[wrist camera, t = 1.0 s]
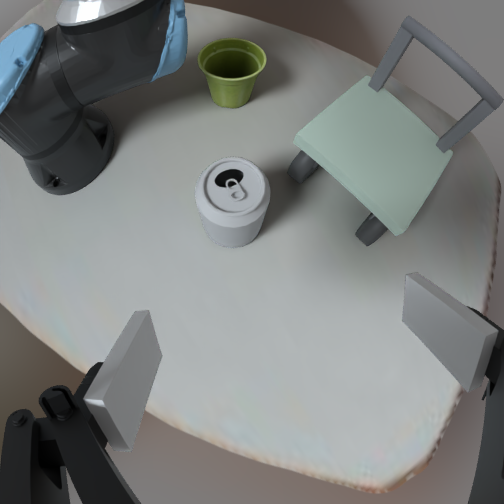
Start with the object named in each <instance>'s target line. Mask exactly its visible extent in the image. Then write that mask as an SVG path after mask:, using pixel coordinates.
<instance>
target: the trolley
mask: <svg viewBox="0 0 504 504" xmlns="http://www.w3.org/2000/svg"><path fill="white" fill-rule="evenodd" d="M413 38H416V39H417V40H418V41H420V42H421V43H422V44H423V45H425V46H426V47H427V48H428V49H430V50H431V51H432V52H433V53H435V54H436V55H437V56H438V57H440V58H441V59H442V60H443V61H444V62H445V63H446V64H448V65H449V66H450V67H451V68H452V69H453V70H454V71H455V72H457V74H459V75H460V76H461V77H462V78H463V79H464V80H465V81H466V82H467V83H468V84H469V85H470V86H471V87H472V88H473V89H474V90H475V91H476V92H477V93H478V94H479V95H480V96H481V97H482V99H481V100H480V101H479V102H478V103H477V104H476V105H475V106H474V107H473V108H472V109H471V110H470V111H469V112H468V113H467V114H466V115H465V116H463V118H461V119H460V120H459V121H458V122H457V123H456V124H455V125H454V126H453V127H452V128H451V129H449V130H448V131H447V132H446V133H445V134H444V135H443V136H442V137H441V138H439V137H438V136H437V135H436V134H435V133H434V132H433V131H432V130H431V129H430V128H429V127H428V126H427V125H426V124H425V123H424V122H422V121H421V120H420V119H419V118H418V117H417V116H416V115H415V114H414V113H413V112H412V111H410V110H409V109H408V108H407V107H406V106H405V105H404V104H402V103H401V102H400V101H399V100H398V99H397V98H395V97H394V96H393V95H392V94H391V93H389V92H388V91H387V90H386V89H384V88H383V86H384V84H385V83H386V81H387V79H388V78H389V76H390V75H391V73H392V71H393V70H394V68H395V67H396V65H397V64H398V62H399V60H400V59H401V57H402V56H403V54H404V52H405V51H406V49H407V47H408V46H409V44H410V43H411V41H412V39H413ZM503 100H504V99H503V98H502V97H501V96H500V95H499V94H498V93H497V91H496V90H495V89H494V88H493V87H492V86H491V85H490V84H489V83H488V82H487V81H486V80H485V79H484V78H483V77H482V76H481V75H480V74H479V73H478V72H477V71H476V70H475V69H474V68H473V67H472V66H471V65H470V64H469V63H467V62H466V61H465V60H464V59H463V58H462V57H461V56H460V55H459V54H457V53H456V52H455V51H454V50H453V49H452V48H451V47H449V46H448V45H447V44H446V43H445V42H443V41H442V40H441V39H440V38H439V37H437V36H436V35H435V34H433V33H432V32H431V31H430V30H428V29H427V28H426V27H424V26H423V25H422V24H420V23H419V22H417V21H416V20H415V19H413V18H412V17H410V16H408V17H406V19H405V20H404V21H403V23H402V25H401V27H400V29H399V31H398V32H397V34H396V36H395V38H394V40H393V41H392V43H391V45H390V47H389V49H388V50H387V52H386V54H385V56H384V57H383V59H382V61H381V63H380V64H379V66H378V68H377V70H376V71H375V73H374V75H373V77H372V78H370V77H369V76H368V75H366V76H365V77H363V78H362V79H361V80H360V81H358V82H357V83H356V84H355V85H354V86H352V87H351V88H350V89H349V90H347V91H346V92H345V93H344V94H343V95H341V96H340V97H339V98H338V99H337V100H335V101H334V102H333V103H332V104H331V105H329V106H328V107H327V108H326V109H325V110H323V111H322V112H321V113H320V114H319V115H318V116H316V117H315V118H314V119H313V120H312V121H311V122H309V123H308V124H307V125H306V126H305V127H304V128H302V129H301V130H300V131H299V132H298V133H297V134H296V137H295V139H294V142H293V143H294V144H295V145H297V146H298V147H299V148H300V149H301V151H300V153H299V154H298V155H297V156H296V158H295V159H294V160H293V162H292V163H291V165H290V167H289V169H288V171H287V173H288V174H289V175H290V176H291V177H292V178H293V179H295V180H296V181H297V182H298V183H302V182H303V181H304V180H305V179H306V178H308V177H309V176H310V175H311V174H312V173H313V171H314V170H315V169H316V168H317V167H318V166H319V165H320V166H322V167H323V168H324V169H325V170H326V171H327V172H328V173H330V174H331V175H332V176H333V177H334V178H335V179H336V180H337V181H339V182H340V183H341V184H342V185H343V186H344V187H345V188H346V189H347V190H349V191H350V192H351V193H352V194H353V195H354V196H355V197H356V198H357V199H358V200H359V201H360V202H361V203H362V204H363V205H365V206H366V207H367V208H368V209H369V210H370V211H371V212H372V213H371V214H370V215H369V216H368V217H367V219H366V220H365V221H364V222H363V223H362V225H361V226H360V227H359V229H358V230H357V232H356V234H355V235H356V236H357V237H358V238H359V239H360V240H361V241H362V242H363V243H364V244H365V245H366V246H369V245H370V244H372V243H373V242H375V241H376V240H377V239H378V238H379V237H380V236H381V235H383V233H384V232H385V231H386V230H387V229H389V230H390V231H391V232H392V233H393V234H394V235H395V236H398V235H400V234H402V233H404V232H405V230H406V229H407V227H408V226H409V224H410V223H411V222H412V220H413V218H414V217H415V215H416V214H417V212H418V211H419V209H420V208H421V206H422V205H423V203H424V202H425V200H426V198H427V197H428V195H429V194H430V192H431V190H432V189H433V187H434V186H435V184H436V182H437V181H438V179H439V177H440V176H441V174H442V172H443V170H444V169H445V167H446V165H447V164H448V162H449V160H450V158H451V157H452V155H453V152H452V151H451V149H450V148H451V147H452V146H453V145H454V144H456V143H457V142H458V141H459V140H460V139H461V138H463V137H464V136H465V135H466V134H467V133H469V132H470V131H471V130H472V129H473V128H474V127H476V126H477V125H478V124H479V123H480V122H481V121H482V120H484V119H485V118H486V117H487V116H488V115H489V114H491V113H492V112H493V111H494V110H496V109H497V108H498V107H499V106H500V105H501V103H502V102H503Z"/></svg>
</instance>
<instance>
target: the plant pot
mask: <svg viewBox="0 0 504 504" xmlns="http://www.w3.org/2000/svg"><path fill="white" fill-rule="evenodd" d="M266 61H267V59H266V55H265V53H264V51H263V50H262V49H261V48H260V47H259V46H258V45H256V44H255V43H253V42H251V41H248V40H244V39H239V38H224V39H219V40H215V41H213V42H211V43H209V44H207V45H206V46H205V47H203V48H202V49H201V51H200V52H199V54H198V58H197V62H198V66H199V68H200V69H201V70H202V71H203V73H204V74H205V76H206V79H207V82H208V86H209V89H210V93H211V97H212V99H213V101H214V102H215V103H216V104H217V105H219V106H221V107H229V108H238V107H240V106H243V105H244V104H245V103H247V101H248V100H249V98H250V95H251V92H252V89H253V86H254V84H255V81H256V78H257V76H258V75H259V73H260V72H261V71H262V70H263V69H264V67H265V65H266Z"/></svg>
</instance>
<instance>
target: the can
mask: <svg viewBox="0 0 504 504" xmlns="http://www.w3.org/2000/svg"><path fill="white" fill-rule="evenodd" d="M270 191H271V190H270V186H269V182H268V179H267V177H266V176H265V174H264V173H263V171H262V170H261V169H260V168H258V167H257V166H256V165H255V164H254V163H252V162H251V161H249V160H246V159H244V158H241V157H226V158H221V159H219V160H217V161H215V162H213V163H212V164H211V165H209V166H208V167H207V168H206V169H205V170H204V171H203V172H202V173H201V175H200V177H199V179H198V180H197V182H196V188H195V198H196V204H197V207H198V210H199V213H200V217H201V220H202V223H203V226H204V229H205V231H206V233H207V235H208V236H209V238H210V239H212V240H213V241H214V242H215V243H216V244H218V245H221V246H223V247H228V248H237V247H242V246H244V245H246V244H248V243H250V242H251V241H252V240H253V239H254V238H255V237H256V236H257V235H258V232H259V230H260V228H261V225H262V222H263V219H264V216H265V213H266V210H267V207H268V204H269V201H270Z"/></svg>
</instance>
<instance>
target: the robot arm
mask: <svg viewBox="0 0 504 504" xmlns="http://www.w3.org/2000/svg"><path fill="white" fill-rule="evenodd" d="M56 20H57V23H58V25H56V26H54V27H52V28H50V29H49V30H47V31H44V29H43V27H41V26H39V25H38V24H35V23H32V24H30V25H25V26H23V27H21V28H19V29H17V30H16V31H14V32H13V33H11V34H10V35H9V36H8V37H6V38H5V39H4V40H3V41H2V42H1V43H0V138H1V139H2V140H3V141H4V142H6V143H7V144H8V145H9V146H10V147H11V148H13V149H14V150H15V151H16V152H17V153H19V154H20V155H21V156H22V157H23V159H24V161H25V163H26V166H27V168H28V170H29V172H30V174H31V176H32V178H33V180H34V181H35V183H36V184H37V185H38V186H40V187H41V188H42V189H44V190H45V191H47V192H48V193H51V194H55V195H65V194H69V193H73V192H75V191H77V190H79V189H81V188H83V187H84V186H86V185H87V184H89V183H90V182H91V181H92V180H93V179H94V178H95V177H96V176H97V175H98V174H99V173H100V172H101V170H102V169H103V168H104V166H105V165H106V163H107V161H108V159H109V157H110V155H111V152H112V149H113V144H114V131H113V128H112V125H111V124H110V122H109V120H108V118H107V117H106V115H105V114H104V113H103V112H102V111H101V110H99V109H98V108H96V107H95V106H93V105H91V104H93V103H95V102H97V101H100V100H102V99H104V98H107V97H109V96H112V95H114V94H117V93H119V92H122V91H125V90H127V89H130V88H133V87H136V86H138V85H141V84H144V83H151V82H152V81H155V80H156V79H157V78H160V77H162V76H165V75H168V74H171V73H173V72H175V71H176V70H178V69H179V68H180V67H181V66H182V65H183V63H184V61H185V58H186V53H187V41H188V32H187V19H186V17H185V4H184V0H63V2H62V4H61V6H60V7H59V9H58V11H57V14H56ZM402 321H403V322H404V323H405V324H406V325H407V326H408V328H409V329H410V330H411V331H412V332H413V333H414V334H415V335H416V336H417V337H418V338H419V339H420V340H421V341H422V342H423V343H424V344H425V346H426V347H427V348H428V349H429V350H430V351H431V352H432V353H433V354H434V355H435V356H436V357H437V359H438V360H439V361H440V362H441V363H442V364H443V365H444V366H445V367H446V368H447V370H448V371H449V372H450V373H451V374H452V375H453V376H454V377H455V379H456V380H457V381H458V382H459V383H460V384H461V385H462V386H463V388H464V389H465V390H466V391H467V392H470V391H472V390H474V389H477V388H478V387H480V386H481V384H482V382H483V379H484V376H485V375H486V376H487V377H488V378H489V382H488V385H487V387H486V390H485V392H484V395H483V397H482V400H484V398H485V397H486V407H485V417H484V426H483V434H482V441H481V447H480V453H479V458H478V463H477V468H476V473H475V478H474V482H473V486H472V490H471V494H470V497H469V501H468V504H504V330H503V329H501V328H500V327H499V326H498V325H496V324H495V323H494V322H492V321H491V320H489V319H488V318H487V317H485V316H483V314H481V313H480V312H479V311H477V310H476V309H473V308H470V307H468V306H465V305H464V304H462V303H461V302H459V301H458V300H457V299H455V298H454V297H452V296H451V295H450V294H448V293H447V292H445V291H444V290H442V289H441V288H440V287H438V286H437V285H435V284H434V283H432V282H431V281H429V280H428V279H427V278H425V277H424V276H422V275H421V274H419V273H418V272H417V273H412V274H406V279H405V293H404V305H403V315H402ZM161 358H162V353H161V350H160V347H159V344H158V340H157V337H156V333H155V330H154V327H153V323H152V319H151V316H150V312H149V310H145V311H135V312H134V314H133V315H132V317H131V318H130V320H129V322H128V323H127V325H126V326H125V328H124V330H123V331H122V333H121V335H120V336H119V338H118V340H117V341H116V343H115V344H114V346H113V348H112V349H111V351H110V353H109V355H108V356H107V358H106V360H105V361H104V362H98V363H96V364H95V365H94V366H93V367H92V368H90V369H89V371H88V373H87V374H86V376H85V378H84V379H83V381H82V382H81V383H82V384H80V386H79V387H78V389H77V391H76V393H75V394H74V396H73V395H72V393H71V391H70V390H69V388H68V387H66V386H63V385H59V386H58V385H57V386H53V387H50V388H49V389H47V390H45V391H44V392H43V393H42V394H41V396H40V398H39V404H40V406H41V407H42V409H43V411H44V412H45V414H46V416H47V417H46V418H37V419H36V418H35V417H34V415H33V414H32V413H31V411H29V410H27V409H21V410H18V411H15V412H13V413H12V414H11V415H10V416H9V417H8V419H7V422H6V427H5V433H4V440H3V447H2V455H1V464H0V504H70V499H69V492H68V484H67V476H66V468H67V470H68V473H69V475H70V477H71V480H72V482H73V484H74V487H75V489H76V491H77V493H78V495H79V497H80V499H81V501H82V503H83V504H141V503H140V501H139V500H138V498H137V497H136V496H135V494H134V493H133V491H132V490H131V489H130V487H129V486H128V484H127V483H126V481H125V480H124V478H123V477H122V475H121V474H120V472H119V470H118V469H117V467H116V466H115V464H114V463H113V461H112V459H111V458H110V456H109V454H108V453H107V451H106V450H105V447H106V444H107V442H109V444H110V446H111V447H112V449H113V450H114V451H125V452H132V449H133V445H134V442H135V439H136V435H137V432H138V429H139V426H140V422H141V419H142V416H143V413H144V410H145V407H146V404H147V400H148V397H149V394H150V391H151V388H152V385H153V382H154V379H155V376H156V373H157V370H158V367H159V364H160V361H161Z"/></svg>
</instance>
